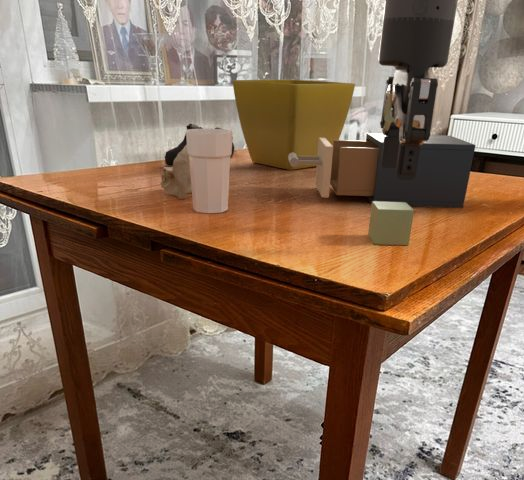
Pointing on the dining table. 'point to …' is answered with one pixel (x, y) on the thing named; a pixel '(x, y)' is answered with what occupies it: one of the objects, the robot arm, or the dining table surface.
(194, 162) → the cup
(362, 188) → the drawer
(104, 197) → the dining table surface
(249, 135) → the flower pot
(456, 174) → the cabinet
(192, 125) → the game controller
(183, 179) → the beige rough lump
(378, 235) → the block
